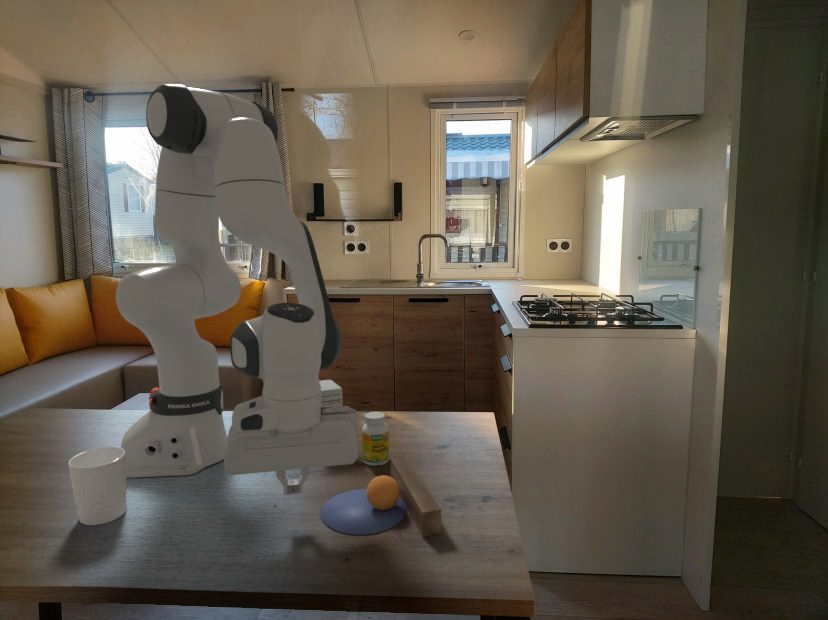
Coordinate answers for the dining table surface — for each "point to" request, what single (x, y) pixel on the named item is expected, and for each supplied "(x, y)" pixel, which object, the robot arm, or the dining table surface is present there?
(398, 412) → the dining table surface
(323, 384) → the supplement box
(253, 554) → the dining table surface
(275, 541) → the dining table surface
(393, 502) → the ball
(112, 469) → the white cup
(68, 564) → the dining table surface
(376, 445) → the supplement bottle
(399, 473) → the rail
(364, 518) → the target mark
